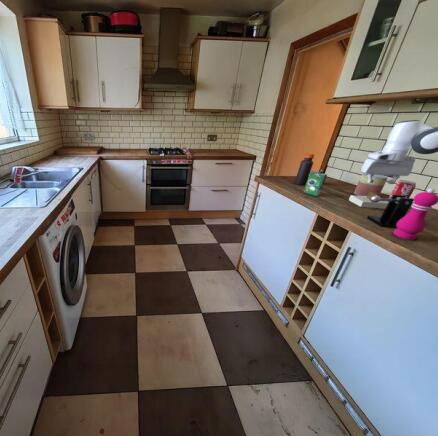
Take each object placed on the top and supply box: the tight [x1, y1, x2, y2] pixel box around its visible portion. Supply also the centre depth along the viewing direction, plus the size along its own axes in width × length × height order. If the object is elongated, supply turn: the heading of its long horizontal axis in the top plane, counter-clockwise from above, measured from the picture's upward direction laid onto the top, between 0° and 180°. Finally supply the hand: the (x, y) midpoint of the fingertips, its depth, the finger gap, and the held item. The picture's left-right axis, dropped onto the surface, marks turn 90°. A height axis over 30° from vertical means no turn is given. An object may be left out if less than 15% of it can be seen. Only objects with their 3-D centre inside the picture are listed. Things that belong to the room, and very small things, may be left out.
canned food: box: [353, 173, 389, 196], centre depth 135 cm, size 11×11×12 cm
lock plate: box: [348, 194, 389, 210], centre depth 122 cm, size 14×10×3 cm
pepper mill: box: [393, 187, 438, 241], centre depth 87 cm, size 7×7×20 cm
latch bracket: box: [366, 194, 414, 229], centre depth 99 cm, size 12×9×13 cm
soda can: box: [388, 179, 417, 202], centre depth 121 cm, size 7×7×13 cm
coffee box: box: [303, 170, 328, 197], centre depth 133 cm, size 8×3×13 cm, turn 26°
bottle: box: [294, 153, 315, 186], centre depth 151 cm, size 7×7×20 cm
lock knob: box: [366, 191, 380, 199], centre depth 121 cm, size 5×2×4 cm, turn 171°
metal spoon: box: [370, 195, 404, 203], centre depth 97 cm, size 13×3×3 cm, turn 81°
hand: (379, 183), depth 117 cm, fingers open, 8 cm apart
